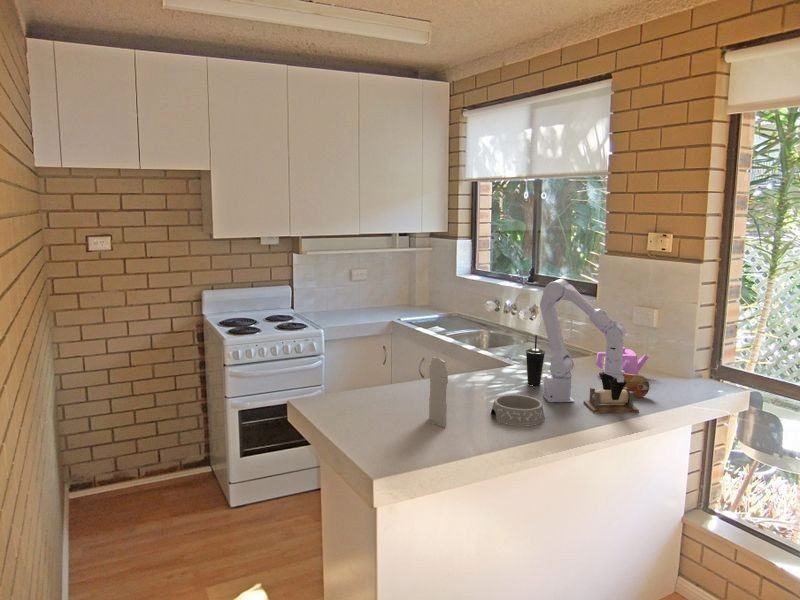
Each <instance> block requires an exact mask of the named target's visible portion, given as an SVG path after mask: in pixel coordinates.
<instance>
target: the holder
mask: <svg viewBox="0 0 800 600" xmlns="http://www.w3.org/2000/svg"><path fill="white" fill-rule="evenodd" d="M623 390H626V391H627V393H628V402H627V404H599V399H600V393H599V392H596V388H595V387H589V399H588V400H583V404H584V405H585V407H586V408H588V409H589V410H590V412H592V413H595V414H601V413H603V414H604V413H605V414H606V413H607V414H609V413H611V414H612V413H613V414H614V413H615V414H617V413H639V412H640V409H639V408H638V407H636V406H635V405H634V397H633V396H634V393H633V392H632V391H629V392H628V388H627V387H624V388H623ZM592 394H595V399H594V400H593V399H592Z"/></svg>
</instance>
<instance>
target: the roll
mask: <svg viewBox="0 0 800 600" xmlns="http://www.w3.org/2000/svg"><path fill="white" fill-rule="evenodd" d="M595 392H599V393H600V399H599V404H627V402H628V393H627V391H626V390H622V392H621V394H620V397H619V400H612V394H611V390H603V389H595ZM592 399H593V400H594V399H595V394H592Z"/></svg>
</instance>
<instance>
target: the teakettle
mask: <svg viewBox="0 0 800 600" xmlns="http://www.w3.org/2000/svg"><path fill="white" fill-rule="evenodd" d="M605 353H606V351H600V352H599V351H597V356H596V361H595V366H597V367H598V368H600V369H602V366H603V365H605ZM637 356H638V355H637V353H635V351H634V350H632V349H629V348H626V347H625V346H623V358H622V370H623V371H625V373H626V374H635V375H639V372H640V370H642V367H643V366H644V365H645V363H646V362H647V361H648V359H649V358H650V356H649V355H646V354H643V356H641V357H640V358H639V359H638V357H637ZM603 357H604V359H603ZM602 359H603V361H602Z"/></svg>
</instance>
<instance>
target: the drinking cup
mask: <svg viewBox="0 0 800 600" xmlns="http://www.w3.org/2000/svg"><path fill="white" fill-rule="evenodd" d="M534 338H535V339H534V347H531V348H528V349H526V350H525V355H526V359H525V360H526V373H527V374H526V375H527V376H526V379H527V385H528V384H529V385H533V386H532V387H539V385H540V386H541V382H542V374H543V369H544V368H543V367H544V361H545V360H544V359H545V354H546V351H545V350H544V349H542V348H539V347H537V345H538V343H537V342H538V335H537V334H536V335H535V337H534ZM529 385H528V386H529Z"/></svg>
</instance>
